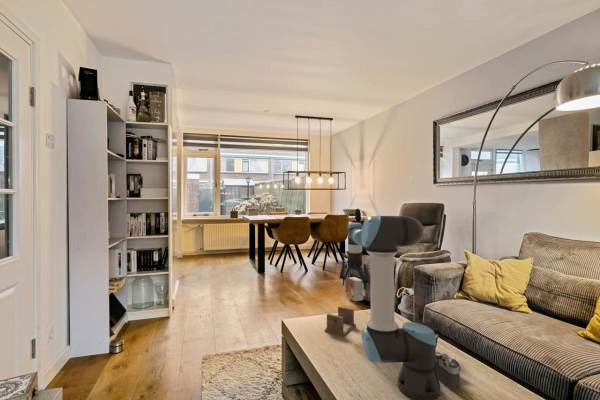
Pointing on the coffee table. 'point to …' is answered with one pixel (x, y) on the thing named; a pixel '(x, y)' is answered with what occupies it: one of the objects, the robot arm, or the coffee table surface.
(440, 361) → the camera
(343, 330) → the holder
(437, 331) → the coffee cup
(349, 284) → the small box
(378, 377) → the coffee table surface
